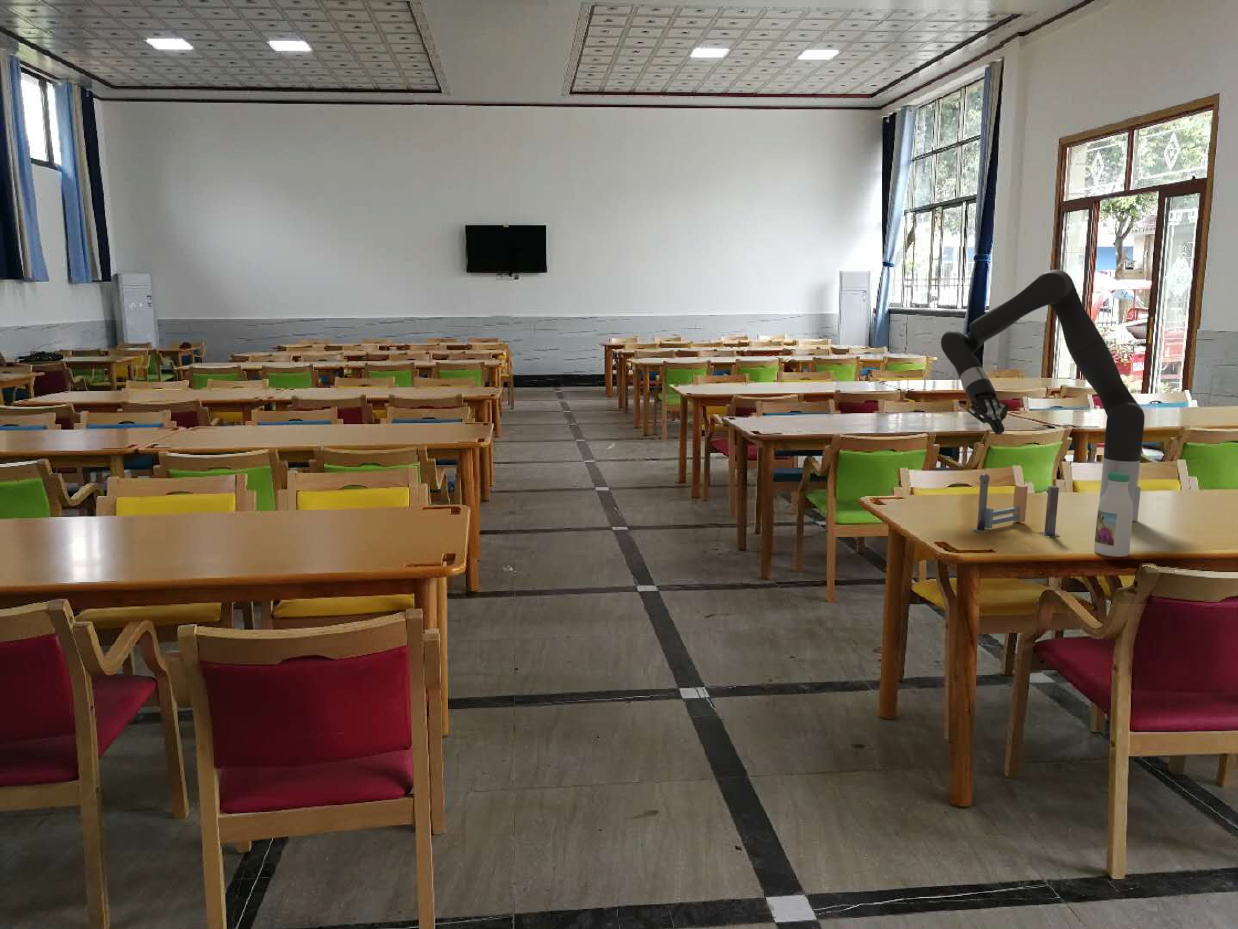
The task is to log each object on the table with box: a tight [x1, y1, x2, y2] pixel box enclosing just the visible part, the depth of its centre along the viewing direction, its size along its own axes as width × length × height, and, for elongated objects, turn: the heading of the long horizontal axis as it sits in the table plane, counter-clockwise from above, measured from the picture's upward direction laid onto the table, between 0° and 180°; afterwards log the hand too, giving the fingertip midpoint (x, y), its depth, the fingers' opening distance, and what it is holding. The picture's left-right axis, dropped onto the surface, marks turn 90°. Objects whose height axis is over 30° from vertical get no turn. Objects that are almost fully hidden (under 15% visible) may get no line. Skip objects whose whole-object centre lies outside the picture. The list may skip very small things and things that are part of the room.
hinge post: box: [972, 473, 991, 534], centre depth 254 cm, size 4×4×16 cm
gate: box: [985, 484, 1029, 530], centre depth 260 cm, size 16×2×10 cm, turn 124°
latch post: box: [1038, 485, 1061, 538], centre depth 250 cm, size 4×4×13 cm
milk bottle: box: [1093, 472, 1134, 558], centre depth 231 cm, size 8×8×20 cm
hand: (1000, 432), depth 271 cm, fingers closed
